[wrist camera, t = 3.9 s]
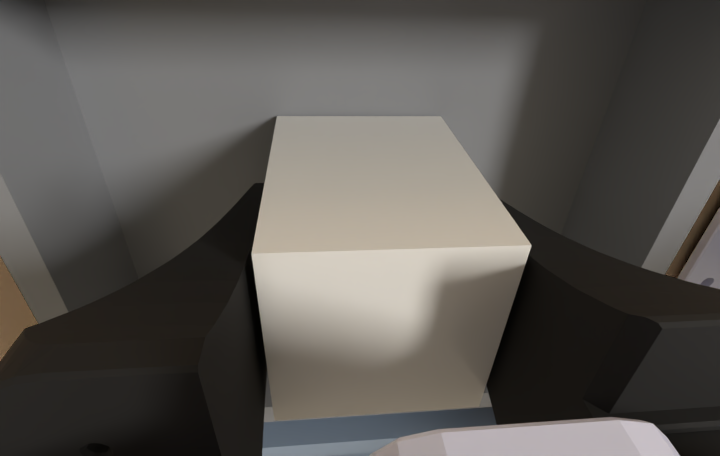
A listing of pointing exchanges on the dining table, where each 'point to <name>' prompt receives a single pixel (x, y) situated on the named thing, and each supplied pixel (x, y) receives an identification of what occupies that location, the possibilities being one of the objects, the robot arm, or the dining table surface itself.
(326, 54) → the grey bin
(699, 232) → the dining table surface
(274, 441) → the slate blue bin
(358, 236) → the cream block
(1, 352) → the dining table surface
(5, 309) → the dining table surface
